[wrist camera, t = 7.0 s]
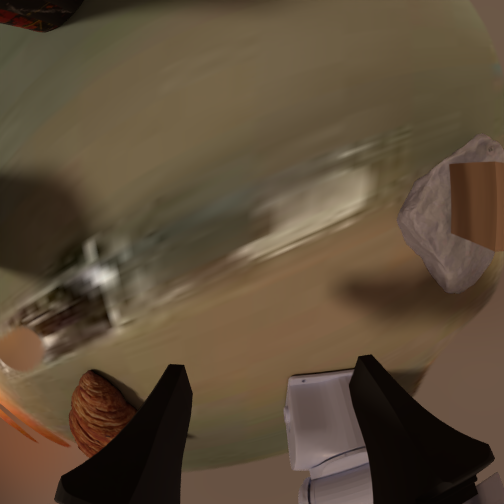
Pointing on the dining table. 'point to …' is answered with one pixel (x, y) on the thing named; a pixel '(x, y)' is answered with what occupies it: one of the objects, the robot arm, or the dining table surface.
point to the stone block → (446, 221)
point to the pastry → (97, 413)
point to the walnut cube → (478, 203)
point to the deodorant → (37, 13)
